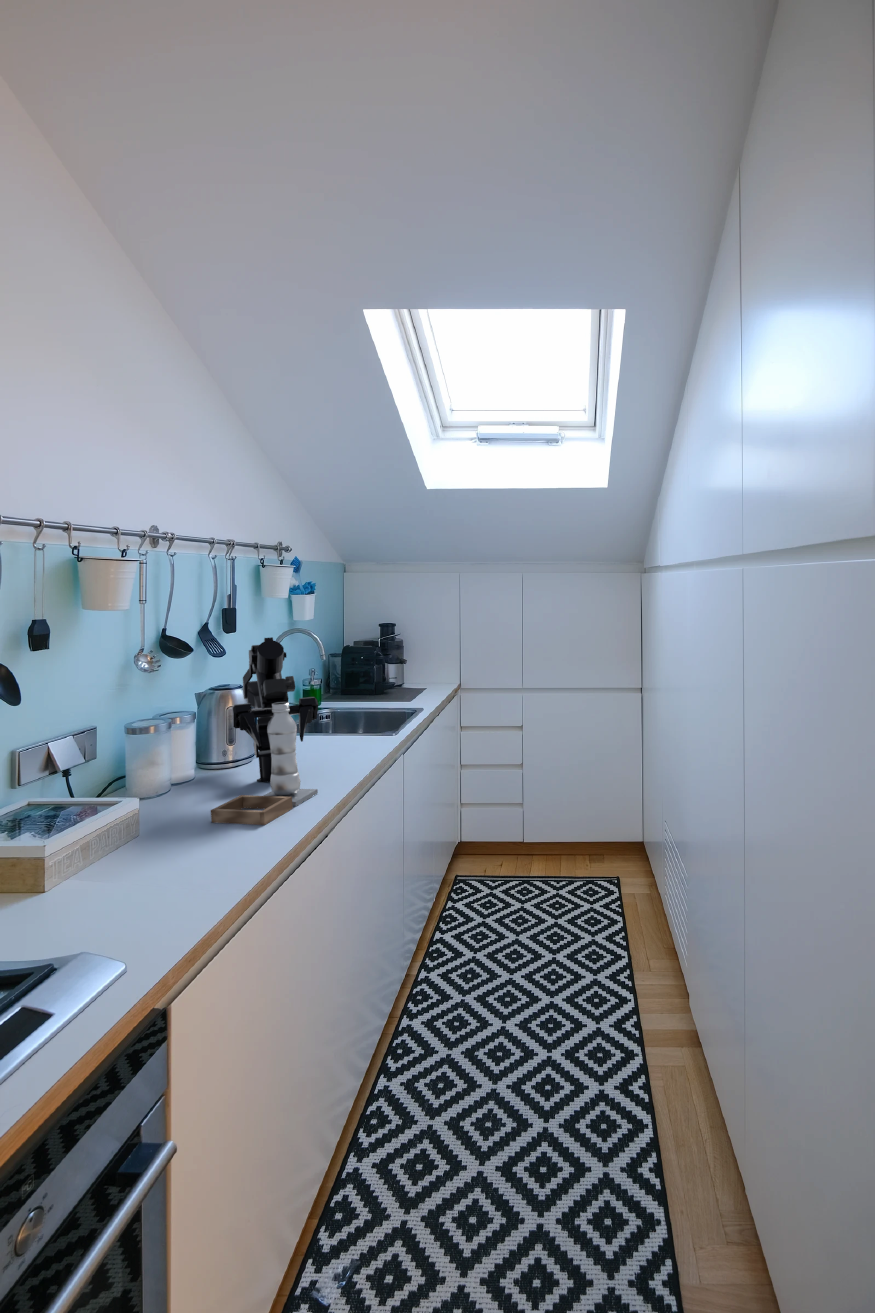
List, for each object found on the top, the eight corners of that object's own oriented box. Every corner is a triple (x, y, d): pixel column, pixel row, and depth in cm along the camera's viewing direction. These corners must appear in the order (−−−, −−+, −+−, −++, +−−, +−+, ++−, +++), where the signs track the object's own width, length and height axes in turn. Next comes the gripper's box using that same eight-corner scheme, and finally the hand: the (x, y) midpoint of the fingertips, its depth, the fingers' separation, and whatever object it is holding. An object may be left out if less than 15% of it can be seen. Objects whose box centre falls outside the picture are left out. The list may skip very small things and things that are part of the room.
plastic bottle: (301, 789, 168) (295, 700, 166) (301, 797, 161) (295, 704, 159) (271, 791, 166) (265, 702, 165) (270, 800, 160) (264, 706, 158)
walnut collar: (211, 822, 149) (210, 810, 149) (242, 806, 160) (241, 795, 160) (265, 825, 146) (264, 812, 145) (292, 808, 156) (291, 796, 156)
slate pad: (254, 805, 161) (253, 800, 160) (277, 792, 170) (277, 788, 170) (296, 806, 157) (295, 801, 157) (317, 793, 167) (317, 789, 167)
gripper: (229, 668, 166) (237, 726, 156) (314, 661, 172) (326, 716, 162) (229, 699, 174) (237, 756, 164) (310, 692, 180) (322, 746, 170)
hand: (281, 743), depth 165 cm, fingers open, 9 cm apart
